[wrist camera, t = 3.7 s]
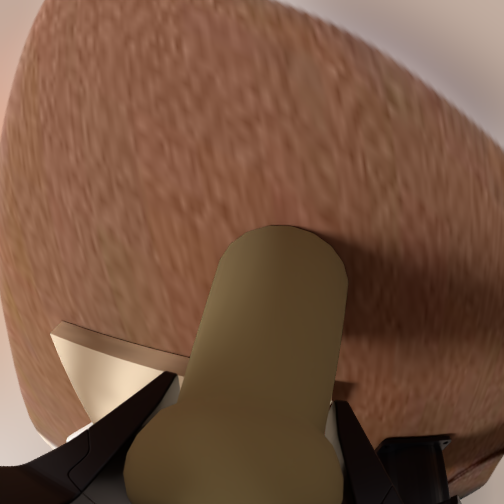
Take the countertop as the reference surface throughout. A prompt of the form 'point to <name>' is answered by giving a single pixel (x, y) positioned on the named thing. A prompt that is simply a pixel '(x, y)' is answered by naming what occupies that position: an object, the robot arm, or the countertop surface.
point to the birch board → (109, 367)
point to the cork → (254, 384)
